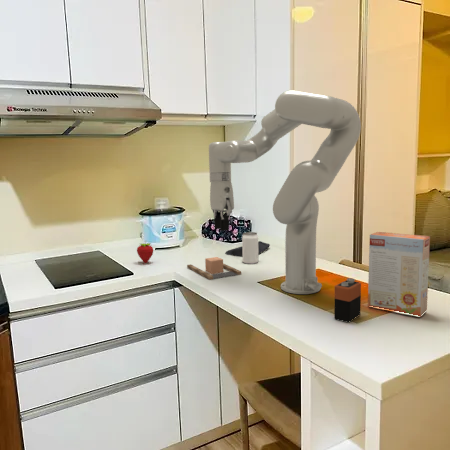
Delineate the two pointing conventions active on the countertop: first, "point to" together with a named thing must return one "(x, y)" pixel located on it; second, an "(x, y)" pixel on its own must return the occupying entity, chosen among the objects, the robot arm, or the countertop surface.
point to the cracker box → (398, 272)
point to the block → (214, 265)
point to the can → (250, 247)
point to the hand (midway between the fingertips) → (221, 228)
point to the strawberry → (145, 252)
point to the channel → (216, 276)
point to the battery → (347, 300)
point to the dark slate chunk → (238, 251)
